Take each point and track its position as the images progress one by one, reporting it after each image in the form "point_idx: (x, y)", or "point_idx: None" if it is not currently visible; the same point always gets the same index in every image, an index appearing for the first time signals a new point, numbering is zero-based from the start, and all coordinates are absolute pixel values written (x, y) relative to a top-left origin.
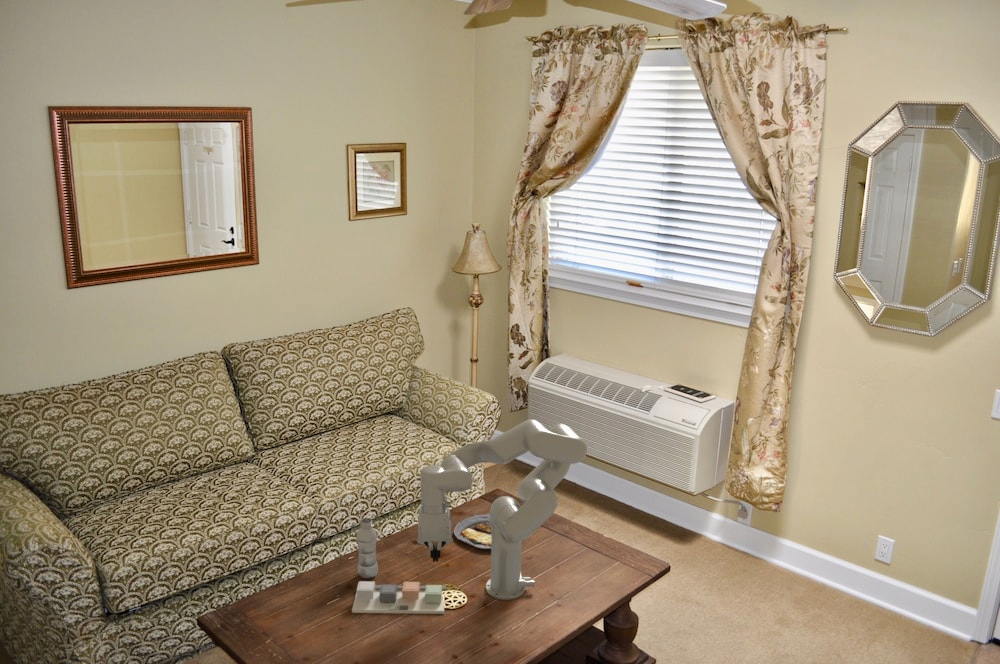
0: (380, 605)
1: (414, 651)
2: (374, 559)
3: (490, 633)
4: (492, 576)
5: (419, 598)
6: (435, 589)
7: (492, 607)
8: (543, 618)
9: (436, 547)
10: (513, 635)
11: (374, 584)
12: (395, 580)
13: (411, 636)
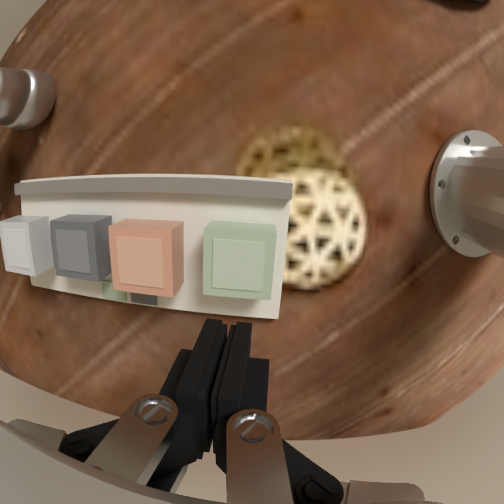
0: None
1: None
2: (11, 102)
3: (388, 386)
4: (479, 220)
5: (189, 243)
6: (246, 269)
7: (427, 286)
8: (501, 326)
9: (220, 466)
10: (430, 385)
11: (31, 235)
12: (107, 113)
13: None
